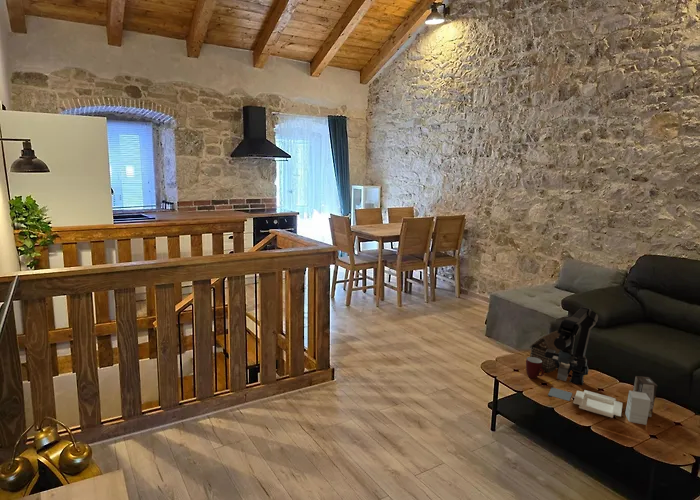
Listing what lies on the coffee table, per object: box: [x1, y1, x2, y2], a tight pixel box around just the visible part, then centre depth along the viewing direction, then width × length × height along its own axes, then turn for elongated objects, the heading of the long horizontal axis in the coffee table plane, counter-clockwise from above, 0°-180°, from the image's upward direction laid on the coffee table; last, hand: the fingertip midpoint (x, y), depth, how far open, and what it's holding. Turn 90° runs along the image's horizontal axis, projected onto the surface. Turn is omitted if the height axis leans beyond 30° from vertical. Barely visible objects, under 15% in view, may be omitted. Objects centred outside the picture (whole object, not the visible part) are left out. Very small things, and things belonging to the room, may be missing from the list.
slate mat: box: [547, 386, 573, 402], centre depth 236 cm, size 10×10×1 cm
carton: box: [572, 389, 624, 419], centre depth 226 cm, size 21×20×2 cm
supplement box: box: [624, 390, 651, 426], centre depth 215 cm, size 7×7×13 cm
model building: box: [529, 330, 561, 374], centre depth 269 cm, size 18×14×20 cm
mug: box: [525, 356, 545, 380], centre depth 253 cm, size 10×8×10 cm
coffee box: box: [632, 375, 658, 418], centre depth 222 cm, size 9×6×16 cm
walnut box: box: [556, 362, 570, 382], centre depth 234 cm, size 8×4×6 cm, turn 147°
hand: (563, 373), depth 234 cm, fingers closed on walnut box, 4 cm apart
